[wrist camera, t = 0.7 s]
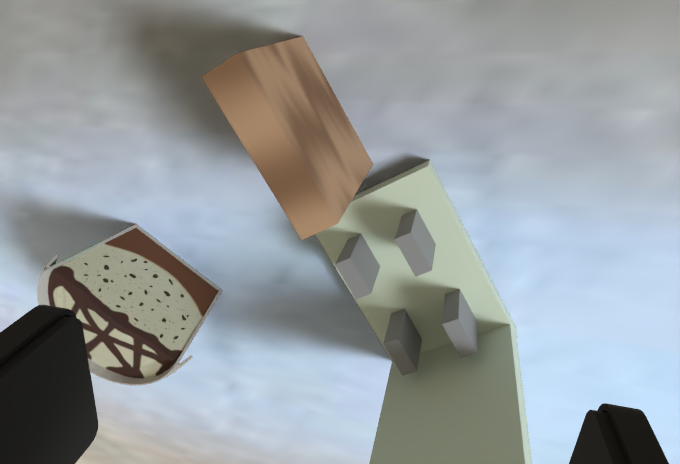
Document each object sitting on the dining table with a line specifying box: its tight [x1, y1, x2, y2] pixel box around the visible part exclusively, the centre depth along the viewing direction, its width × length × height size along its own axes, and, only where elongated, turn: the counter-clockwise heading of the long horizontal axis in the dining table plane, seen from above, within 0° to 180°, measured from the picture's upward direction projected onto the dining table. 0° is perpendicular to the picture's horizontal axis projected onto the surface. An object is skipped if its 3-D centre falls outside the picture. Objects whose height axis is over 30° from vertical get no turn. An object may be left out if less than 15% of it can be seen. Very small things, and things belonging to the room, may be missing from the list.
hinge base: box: [315, 160, 532, 464], centre depth 33 cm, size 15×10×18 cm, turn 31°
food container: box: [37, 224, 222, 385], centre depth 42 cm, size 12×6×10 cm, turn 53°
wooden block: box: [202, 36, 373, 240], centre depth 32 cm, size 10×3×11 cm, turn 31°
